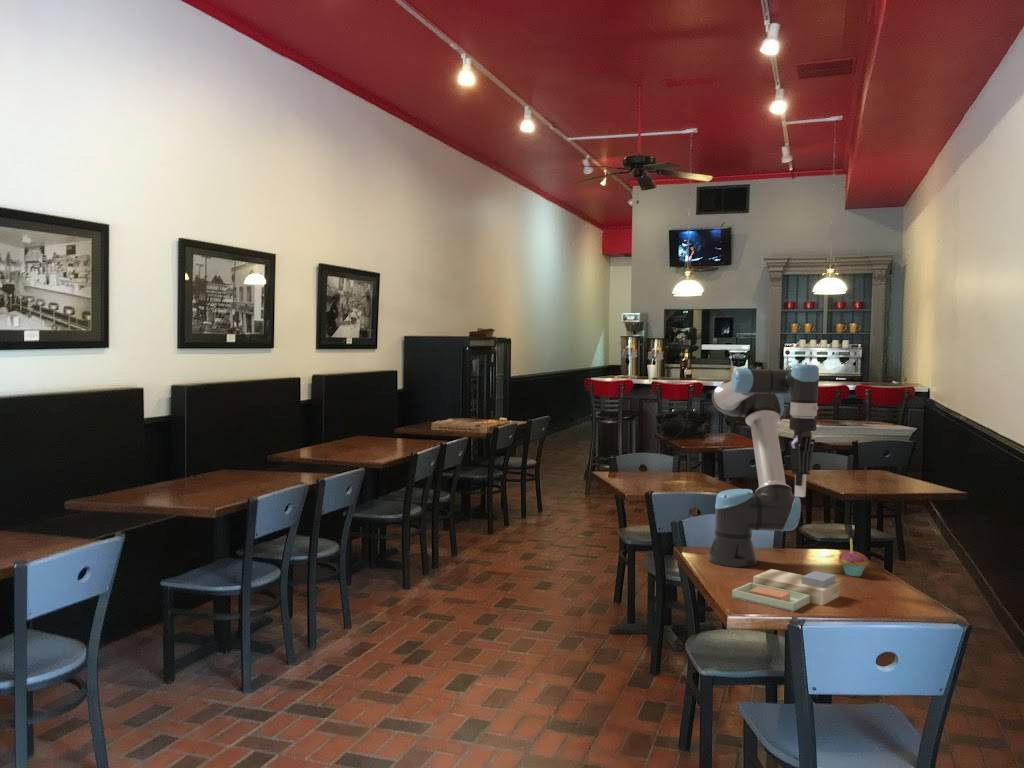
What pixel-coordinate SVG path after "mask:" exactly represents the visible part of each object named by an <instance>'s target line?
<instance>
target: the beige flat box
mask: <svg viewBox="0 0 1024 768" xmlns="http://www.w3.org/2000/svg"><path fill="white" fill-rule="evenodd" d="M802 576H804V574H801V573H800V574H799V573H794V572H790V571H789V572H788V571H783V570H778V569H773V568H770V569H768V570H765V571H763V572H761V573H759V574H756V575H753V578H752V579H753V581H752V583H755V584H760V585H765V586H770V587H774V588H779V589H784V590H788V591H793V592H798V593H803V594H807V595H810V603H809V604H815V605H819V606H825V605H826V604H828V603H830V602H833V601H834V600H836V599H838V598H840V582H838V581H835V582H834V583H832V584H830V585H828V586H827V587H825V588H820V587H815V586H810V585H805V584H802Z"/></svg>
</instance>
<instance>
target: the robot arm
mask: <svg viewBox="0 0 1024 768" xmlns="http://www.w3.org/2000/svg"><path fill="white" fill-rule="evenodd" d="M819 371H820V369H819V366H818V365H816V364H801V363H800V364H793V365H792V367H791V368H789V369H773V368H772V369H771V368H770V369H769V368H768V369H766V368H765V369H762V368H761V369H759V368H758V369H757V368H747V367H746V368H736V369H734V370H733V372H732V374H731V380H730V381H728V382H723V383H721V384H719V385H717V386H716V387H715V388H714V390H713V391H712V393H711V401H712V405H714V407H715V409H717V410H718V411H719V412H721V413H722V414H724V415H727V416H730V417H740V418H741V417H742V418H744V419H745V423H746V424H747V426H749V427H750V431H751V437H752V439H751V440H752V444H753V452H754V459H755V465H756V473H757V480H758V488H756V490H755V493H754V491H753V490H752V489H749V488H733V489H732V488H731V489H726V490H722V491H719V493H717V495H716V497H715V505H714V508H715V511H714V513H715V514H714V515H715V516H714V517H715V518H714V519H715V520H714V522H715V523H714V538H713V539H712V543H711V546H710V547H709V550H708V561H709V562H711V563H713V564H716V565H720V566H725V567H732V568H733V567H734V568H736V567H737V568H740V567H741V568H745V567H748V568H749V567H752V566H755V565H756V564H757V553H756V550H755V547H754V543H753V539H752V534H753V531H770V532H771V531H773V532H790V531H794V530H795V529H796V528H797V527H798V525H799V522H800V519H801V514H802V513H801V512H802V510H801V509H802V504H801V501H802V500H801V498H805V497H806V495H807V494H806V493H807V475H811V472H810V471H811V466H812V461H813V453H814V446H815V443H816V439H814V438H812V432H815V431H816V430H817V423H818V420H817V416H818V410H819V406H818V402H819V401H818V400H819V399H818V397H819V380H820V373H819ZM783 395H790V404H789V405H790V407H789V415H790V417H789V430H792V431H793V437H792V441H788V446H789V454H790V466H791V467H790V468H791V475H794V477H795V478H794V494H793V489H792V487H791V486H790V485H788V484H786V477H785V470H784V464H783V456H782V451H781V445H780V440H779V439H780V438H779V432H778V426H777V423H779V421H780V419H781V417H782V416H783V414H784V411H785V405H784V404H785V401H784V396H783Z"/></svg>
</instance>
